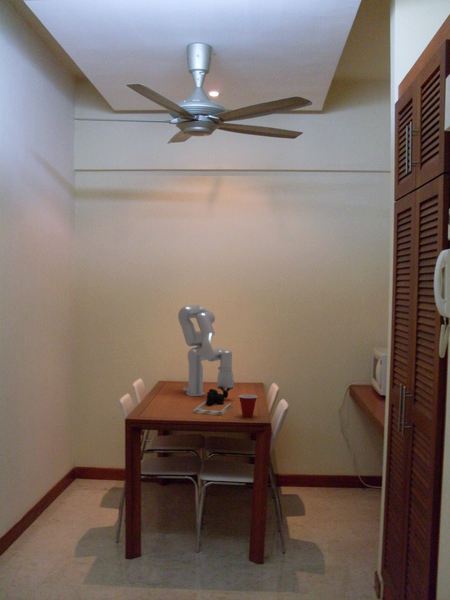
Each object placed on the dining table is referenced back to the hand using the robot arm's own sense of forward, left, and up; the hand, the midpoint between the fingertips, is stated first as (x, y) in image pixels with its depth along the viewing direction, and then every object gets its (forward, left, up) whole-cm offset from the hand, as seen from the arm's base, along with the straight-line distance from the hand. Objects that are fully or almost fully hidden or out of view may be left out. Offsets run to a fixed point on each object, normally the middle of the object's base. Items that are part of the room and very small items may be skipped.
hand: (225, 397), depth 351 cm
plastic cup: (+23, -36, -2) cm, 43 cm away
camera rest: (0, -28, -1) cm, 28 cm away
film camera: (-3, -13, -2) cm, 13 cm away
